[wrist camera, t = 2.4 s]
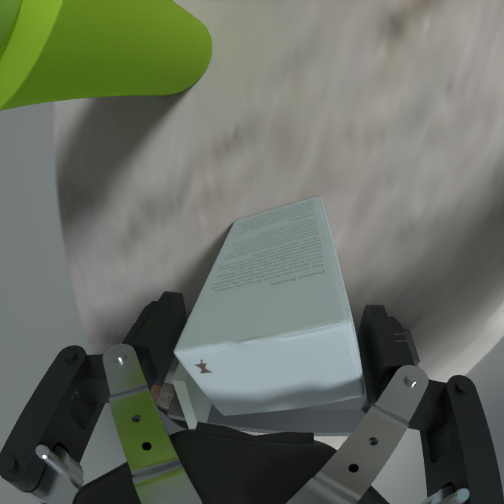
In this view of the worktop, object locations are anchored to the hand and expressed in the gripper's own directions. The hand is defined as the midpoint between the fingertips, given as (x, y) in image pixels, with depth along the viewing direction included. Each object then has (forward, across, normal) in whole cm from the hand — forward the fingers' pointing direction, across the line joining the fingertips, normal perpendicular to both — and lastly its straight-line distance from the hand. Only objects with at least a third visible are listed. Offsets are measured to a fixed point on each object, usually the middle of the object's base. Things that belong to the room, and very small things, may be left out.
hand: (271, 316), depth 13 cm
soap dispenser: (+9, +8, -12) cm, 17 cm away
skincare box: (+8, 0, 0) cm, 9 cm away
